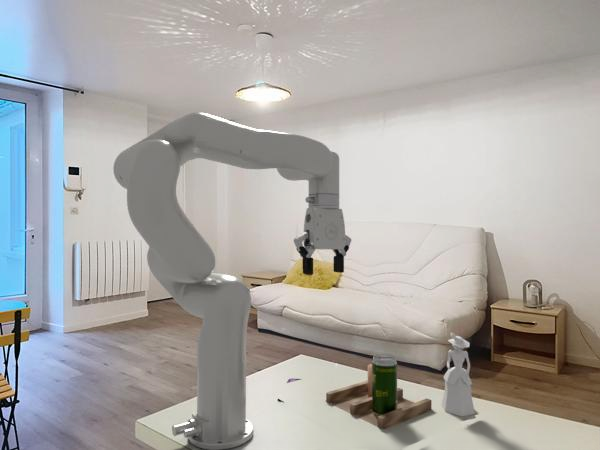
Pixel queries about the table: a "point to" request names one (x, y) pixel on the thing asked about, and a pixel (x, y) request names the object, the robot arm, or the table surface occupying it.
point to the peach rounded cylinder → (370, 380)
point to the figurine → (458, 381)
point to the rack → (361, 405)
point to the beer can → (384, 384)
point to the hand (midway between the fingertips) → (323, 273)
